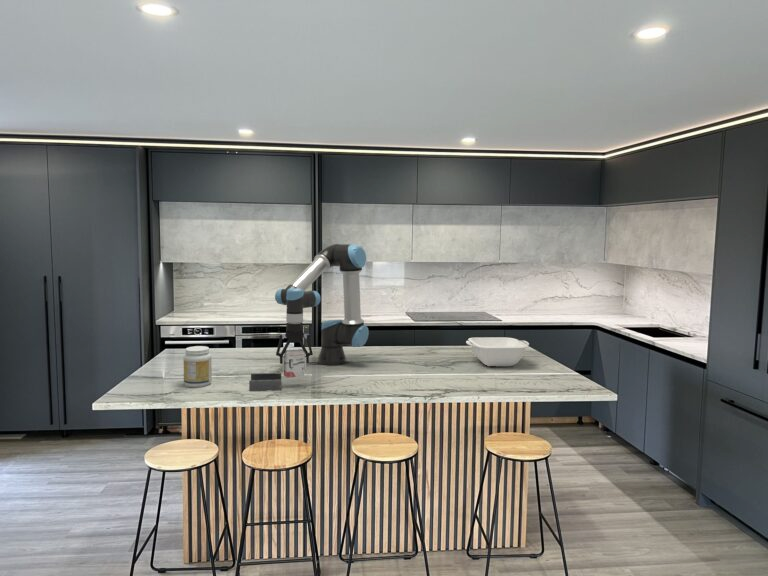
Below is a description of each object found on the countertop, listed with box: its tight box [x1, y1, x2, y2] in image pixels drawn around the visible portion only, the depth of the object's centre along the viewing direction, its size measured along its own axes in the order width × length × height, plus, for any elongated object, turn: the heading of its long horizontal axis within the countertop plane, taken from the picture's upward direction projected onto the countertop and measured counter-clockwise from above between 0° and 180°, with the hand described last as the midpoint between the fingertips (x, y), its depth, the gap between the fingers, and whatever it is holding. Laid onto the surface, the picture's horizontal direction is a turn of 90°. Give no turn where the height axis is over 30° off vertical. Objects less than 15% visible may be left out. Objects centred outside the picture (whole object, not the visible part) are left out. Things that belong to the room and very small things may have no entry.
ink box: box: [283, 348, 306, 378], centre depth 264 cm, size 9×5×12 cm, turn 117°
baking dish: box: [465, 336, 530, 367], centre depth 315 cm, size 34×28×13 cm
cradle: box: [248, 372, 282, 392], centre depth 263 cm, size 14×14×4 cm
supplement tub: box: [183, 345, 213, 388], centre depth 264 cm, size 12×12×17 cm
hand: (294, 370), depth 264 cm, fingers closed on ink box, 9 cm apart
